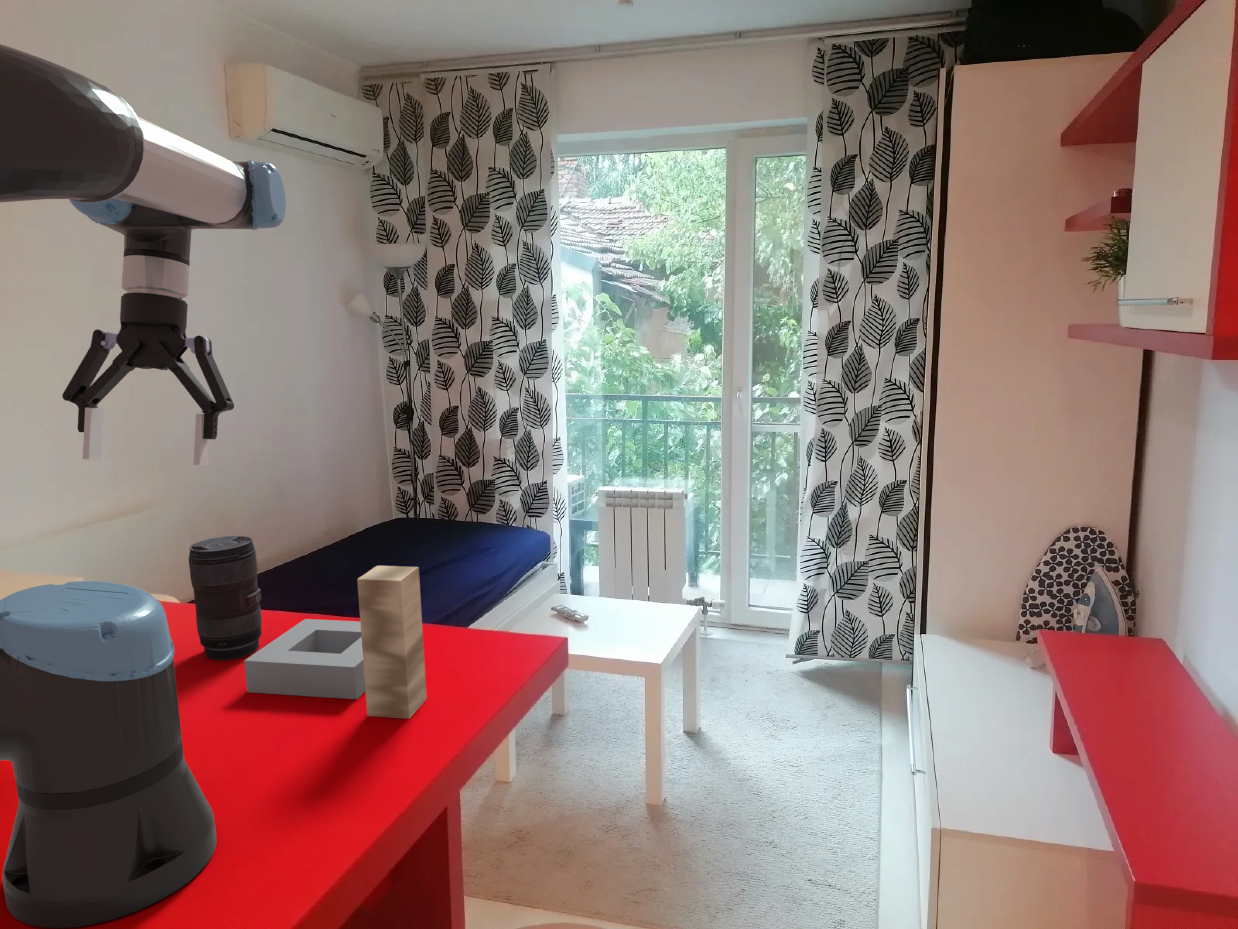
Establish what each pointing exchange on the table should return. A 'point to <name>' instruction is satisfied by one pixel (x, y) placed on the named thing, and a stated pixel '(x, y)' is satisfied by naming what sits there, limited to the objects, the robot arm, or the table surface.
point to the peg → (392, 641)
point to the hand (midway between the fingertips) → (146, 462)
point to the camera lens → (226, 596)
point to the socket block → (311, 661)
